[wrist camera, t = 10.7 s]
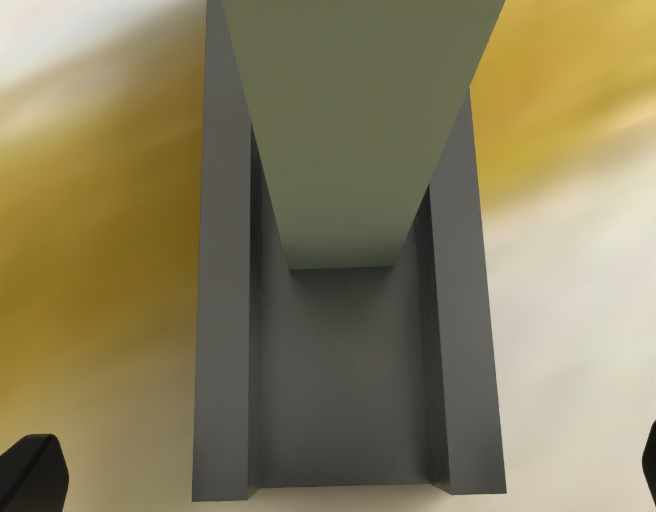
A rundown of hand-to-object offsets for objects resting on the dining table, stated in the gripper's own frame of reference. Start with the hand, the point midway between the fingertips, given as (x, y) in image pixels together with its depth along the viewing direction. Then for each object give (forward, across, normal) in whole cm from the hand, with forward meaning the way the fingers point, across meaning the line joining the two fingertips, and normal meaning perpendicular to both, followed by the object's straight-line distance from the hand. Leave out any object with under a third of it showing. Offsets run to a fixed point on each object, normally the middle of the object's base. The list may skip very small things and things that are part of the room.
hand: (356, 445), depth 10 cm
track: (+11, 0, +1) cm, 11 cm away
